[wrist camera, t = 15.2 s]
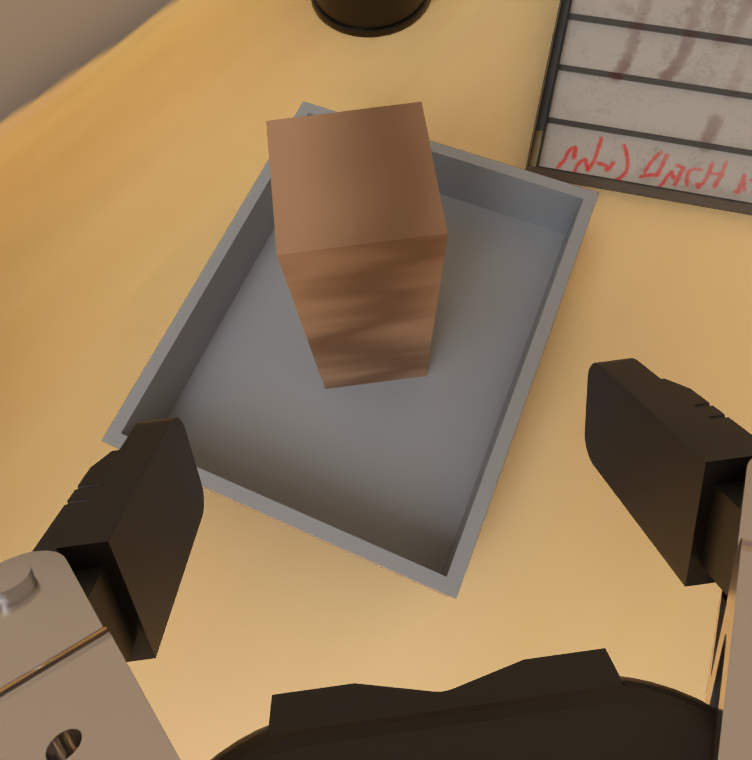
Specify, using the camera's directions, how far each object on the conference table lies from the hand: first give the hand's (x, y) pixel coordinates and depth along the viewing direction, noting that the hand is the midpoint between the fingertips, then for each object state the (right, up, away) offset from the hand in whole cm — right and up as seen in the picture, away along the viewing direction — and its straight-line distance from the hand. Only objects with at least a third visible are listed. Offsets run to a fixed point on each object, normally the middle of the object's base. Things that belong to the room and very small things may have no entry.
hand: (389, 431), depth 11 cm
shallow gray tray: (0, +2, +22) cm, 22 cm away
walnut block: (-1, +3, +17) cm, 18 cm away
